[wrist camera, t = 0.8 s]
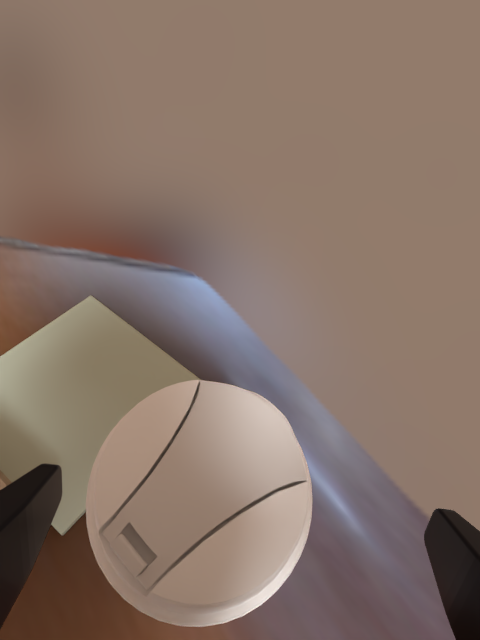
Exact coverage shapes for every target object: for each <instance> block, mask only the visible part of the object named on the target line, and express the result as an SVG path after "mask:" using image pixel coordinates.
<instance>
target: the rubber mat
mask: <svg viewBox="0 0 480 640" xmlns="http://www.w3.org/2000/svg"><path fill="white" fill-rule="evenodd" d="M191 380H200V381H201V379H199V378H198V377H197V376H195V375H194V374H193V373H191V372H190V371H189V370H188V369H186V368H185V367H184V366H182V365H181V364H180V363H178V362H177V361H176V360H175V359H173V358H172V357H171V356H169V355H168V354H167V353H165V352H164V351H163V350H162V349H160V348H159V347H158V346H156V345H155V344H154V343H152V342H151V341H150V340H149V339H147V338H146V337H145V336H143V335H142V334H141V333H139V332H138V331H137V330H136V329H134V328H133V327H132V326H130V325H129V324H128V323H126V322H125V321H124V320H122V319H121V318H120V317H119V316H117V315H116V314H115V313H113V312H112V311H111V310H109V309H108V308H107V307H106V306H104V305H103V304H102V303H100V302H99V301H98V300H96V299H95V298H94V297H93V296H89V297H88V298H86V299H85V300H83V301H82V302H80V303H79V304H77V305H76V306H74V307H73V308H71V309H70V310H68V311H67V312H65V313H64V314H62V315H61V316H60V317H58V318H57V319H55V320H54V321H52V322H51V323H49V324H48V325H46V326H45V327H43V328H42V329H40V330H39V331H37V332H36V333H34V334H33V335H31V336H30V337H28V338H27V339H26V340H24V341H23V342H21V343H20V344H18V345H17V346H15V347H14V348H12V349H11V350H9V351H8V352H6V353H5V354H3V355H2V356H0V470H1V471H2V472H3V473H4V475H5V476H6V477H7V478H8V479H9V480H10V481H11V482H14V481H15V480H17V479H18V478H20V477H21V476H23V475H24V474H26V473H28V472H29V471H31V470H32V469H34V468H35V467H37V466H38V465H40V464H43V463H47V464H56V465H59V466H60V467H61V469H62V498H61V501H60V504H59V506H58V509H57V511H56V514H55V516H54V518H53V521H52V523H51V525H52V526H53V527H54V528H55V529H56V530H57V531H58V532H59V533H60V534H61V535H62V536H63V535H64V534H65V533H66V532H67V531H68V530H69V529H70V528H71V527H72V526H73V525H74V524H75V523H76V522H77V520H78V519H79V518H80V517H81V516H82V515H83V514H84V513H85V512H86V496H87V487H88V482H89V478H90V474H91V471H92V467H93V464H94V462H95V459H96V457H97V455H98V452H99V450H100V448H101V446H102V445H103V443H104V441H105V440H106V438H107V436H108V435H109V433H110V432H111V431H112V429H113V428H114V427H115V426H116V425H117V423H118V422H119V421H120V420H121V419H122V418H123V417H124V416H125V415H126V414H127V413H128V412H129V411H130V410H131V409H132V408H134V407H135V406H136V405H137V404H138V403H139V402H141V401H142V400H144V399H145V398H147V397H148V396H149V395H151V394H153V393H155V392H157V391H159V390H161V389H163V388H165V387H168V386H171V385H174V384H177V383H180V382H186V381H191Z"/></svg>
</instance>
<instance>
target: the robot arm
mask: <svg viewBox="0 0 480 640" xmlns="http://www.w3.org/2000/svg"><path fill="white" fill-rule="evenodd" d="M61 498H62V469H61V467H60V466H59V465H56V464H47V463H43V464H40V465H38V466H37V467H35V468H34V469H32V470H31V471H29V472H28V473H26V474H24V475H23V476H21V477H20V478H18V479H17V480H15V481H14V482H12V483H10V484H9V485H7V486H6V487H4V488H3V489H1V490H0V629H1V627H2V625H3V623H4V621H5V619H6V618H7V616H8V614H9V612H10V610H11V608H12V606H13V605H14V603H15V601H16V599H17V597H18V595H19V593H20V592H21V590H22V588H23V586H24V584H25V582H26V580H27V578H28V576H29V574H30V572H31V570H32V568H33V566H34V563H35V561H36V559H37V556H38V554H39V552H40V549H41V547H42V545H43V542H44V540H45V537H46V535H47V533H48V530H49V528H50V526H51V523H52V521H53V518H54V516H55V514H56V511H57V509H58V506H59V504H60V501H61ZM424 541H425V546H426V549H427V552H428V556H429V559H430V562H431V566H432V569H433V572H434V576H435V579H436V582H437V586H438V589H439V593H440V596H441V599H442V603H443V606H444V609H445V612H446V615H447V617H448V620H449V623H450V625H451V628H452V631H453V633H454V636H455V638H456V640H480V531H479V530H477V529H476V528H475V527H474V526H472V525H471V524H470V523H469V522H467V521H466V520H465V519H464V518H462V517H461V516H460V515H459V514H458V513H456V512H455V511H452V510H447V509H436V510H434V512H433V514H432V516H431V518H430V521H429V523H428V526H427V528H426V530H425V534H424Z"/></svg>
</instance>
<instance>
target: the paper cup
mask: <svg viewBox="0 0 480 640" xmlns="http://www.w3.org/2000/svg"><path fill="white" fill-rule="evenodd" d="M312 500H313V499H312V487H311V479H310V474H309V470H308V465H307V462H306V459H305V457H304V454H303V451H302V449H301V447H300V445H299V443H298V441H297V439H296V437H295V434H294V432H293V430H292V428H291V426H290V424H289V422H288V420H287V419H286V417H285V416H284V415H283V414H282V413H281V412H280V411H279V410H278V409H277V408H276V407H275V406H274V405H273V404H272V403H270V402H269V401H268V400H267V399H265V398H264V397H262V396H260V395H259V394H257V393H254V392H252V391H249V390H246V389H242V388H239V387H237V386H234V385H230V384H224V383H219V382H212V381H204V380H201V381H200V380H191V381H186V382H180V383H177V384H174V385H171V386H168V387H165V388H163V389H161V390H159V391H157V392H155V393H153V394H151V395H149V396H148V397H147V398H145V399H144V400H142V401H141V402H139V403H138V404H137V405H136V406H135V407H134V408H132V409H131V410H130V411H129V412H128V413H127V414H126V415H125V416H124V417H123V418H122V419H121V420H120V421H119V422H118V423H117V425H116V426H115V427H114V428H113V429H112V431H111V432H110V433H109V435H108V436H107V438H106V440H105V441H104V443H103V445H102V446H101V448H100V450H99V452H98V455H97V457H96V459H95V462H94V464H93V467H92V471H91V474H90V478H89V482H88V487H87V496H86V525H87V530H88V535H89V540H90V545H91V547H92V550H93V553H94V555H95V558H96V560H97V563H98V565H99V567H100V569H101V570H102V572H103V573H104V575H105V577H106V578H107V580H108V582H109V583H110V584H111V586H112V587H113V588H114V589H115V590H116V591H117V592H118V593H119V594H120V596H121V597H122V598H123V599H124V600H126V601H127V602H128V603H130V604H131V605H132V606H134V607H135V608H136V609H138V610H139V611H140V612H142V613H144V614H146V615H148V616H150V617H153V618H155V619H157V620H159V621H162V622H166V623H170V624H174V625H178V626H190V627H205V626H211V625H217V624H223V623H226V622H228V621H231V620H234V619H236V618H239V617H241V616H244V615H245V614H247V613H249V612H250V611H252V610H254V609H255V608H257V607H258V606H260V605H262V604H263V603H264V602H265V601H266V600H267V599H268V598H270V597H271V596H272V595H273V594H274V593H275V592H276V591H277V590H278V589H279V588H280V587H281V585H282V584H283V583H284V582H285V580H286V579H287V578H288V577H289V575H290V574H291V572H292V570H293V569H294V567H295V565H296V563H297V561H298V560H299V558H300V556H301V553H302V551H303V548H304V545H305V542H306V540H307V537H308V532H309V527H310V522H311V516H312Z"/></svg>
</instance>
